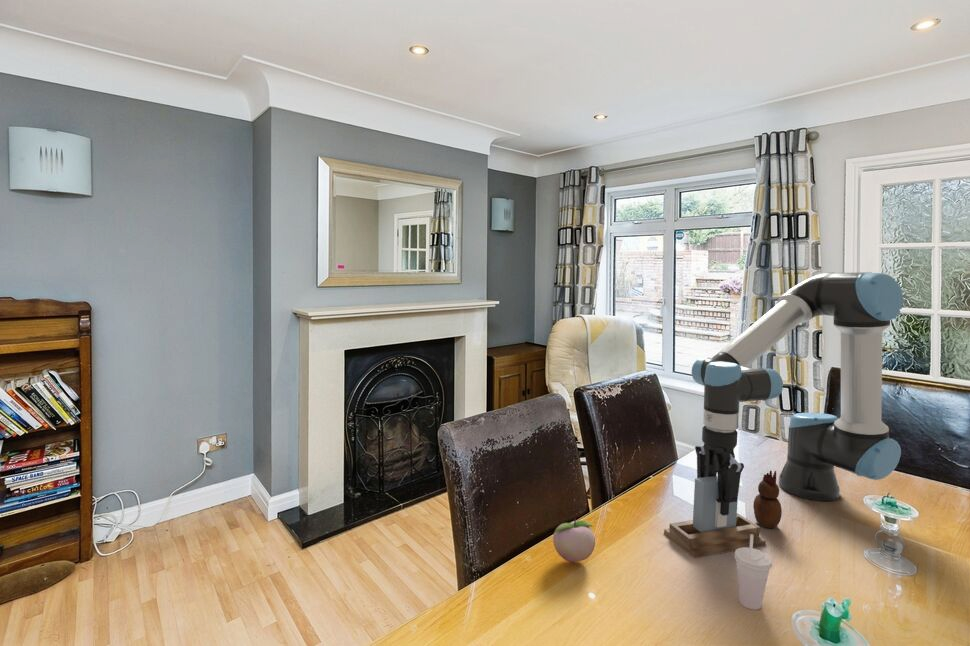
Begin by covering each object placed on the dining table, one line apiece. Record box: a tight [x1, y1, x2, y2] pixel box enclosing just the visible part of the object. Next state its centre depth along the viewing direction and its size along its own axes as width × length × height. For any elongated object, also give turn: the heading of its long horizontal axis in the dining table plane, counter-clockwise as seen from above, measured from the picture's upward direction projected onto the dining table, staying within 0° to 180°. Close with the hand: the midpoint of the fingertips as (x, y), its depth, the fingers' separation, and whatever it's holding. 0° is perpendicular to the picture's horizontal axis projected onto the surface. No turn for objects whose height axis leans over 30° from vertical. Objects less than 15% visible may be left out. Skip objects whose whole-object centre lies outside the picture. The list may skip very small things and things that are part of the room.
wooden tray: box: [663, 512, 767, 558], centre depth 118 cm, size 20×11×3 cm, turn 106°
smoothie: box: [733, 534, 773, 610], centre depth 94 cm, size 6×6×14 cm
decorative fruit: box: [552, 518, 596, 563], centre depth 107 cm, size 9×8×10 cm
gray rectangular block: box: [692, 475, 739, 533], centre depth 117 cm, size 10×3×12 cm, turn 106°
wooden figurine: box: [752, 470, 783, 529], centre depth 124 cm, size 7×6×15 cm
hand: (714, 522), depth 117 cm, fingers closed on gray rectangular block, 3 cm apart
